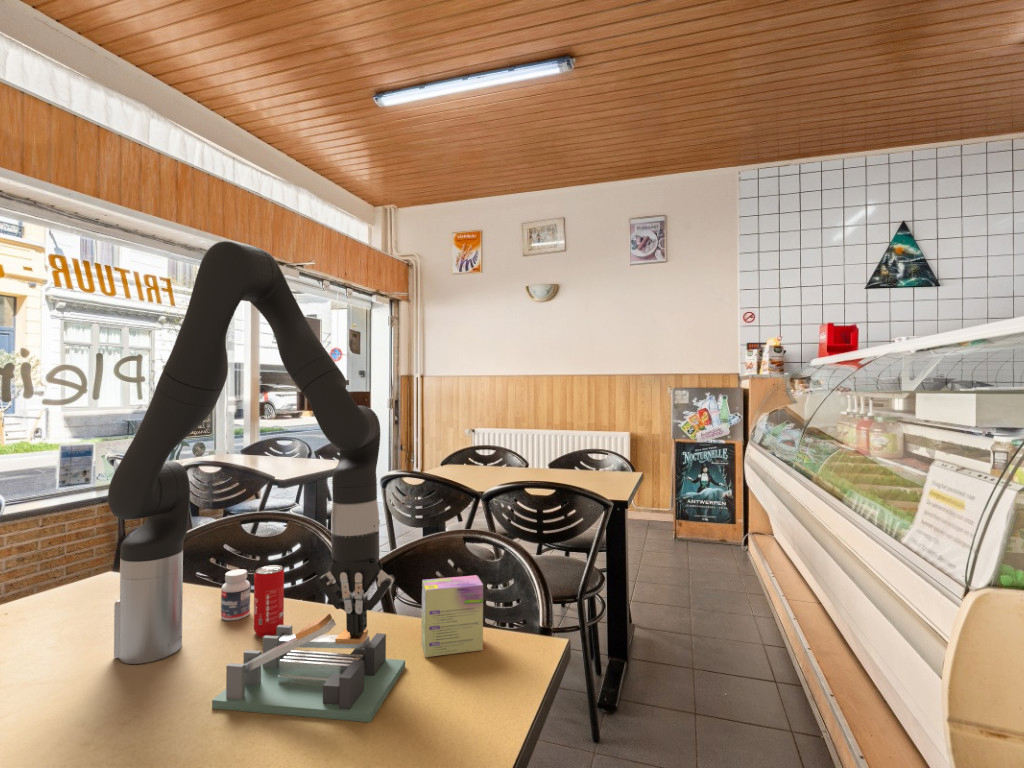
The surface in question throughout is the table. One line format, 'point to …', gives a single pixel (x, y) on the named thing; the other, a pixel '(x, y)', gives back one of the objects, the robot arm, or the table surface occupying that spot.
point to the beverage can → (268, 600)
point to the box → (452, 615)
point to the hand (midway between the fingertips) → (357, 634)
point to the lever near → (293, 642)
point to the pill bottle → (235, 595)
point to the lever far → (332, 640)
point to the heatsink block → (313, 667)
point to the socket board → (337, 699)
